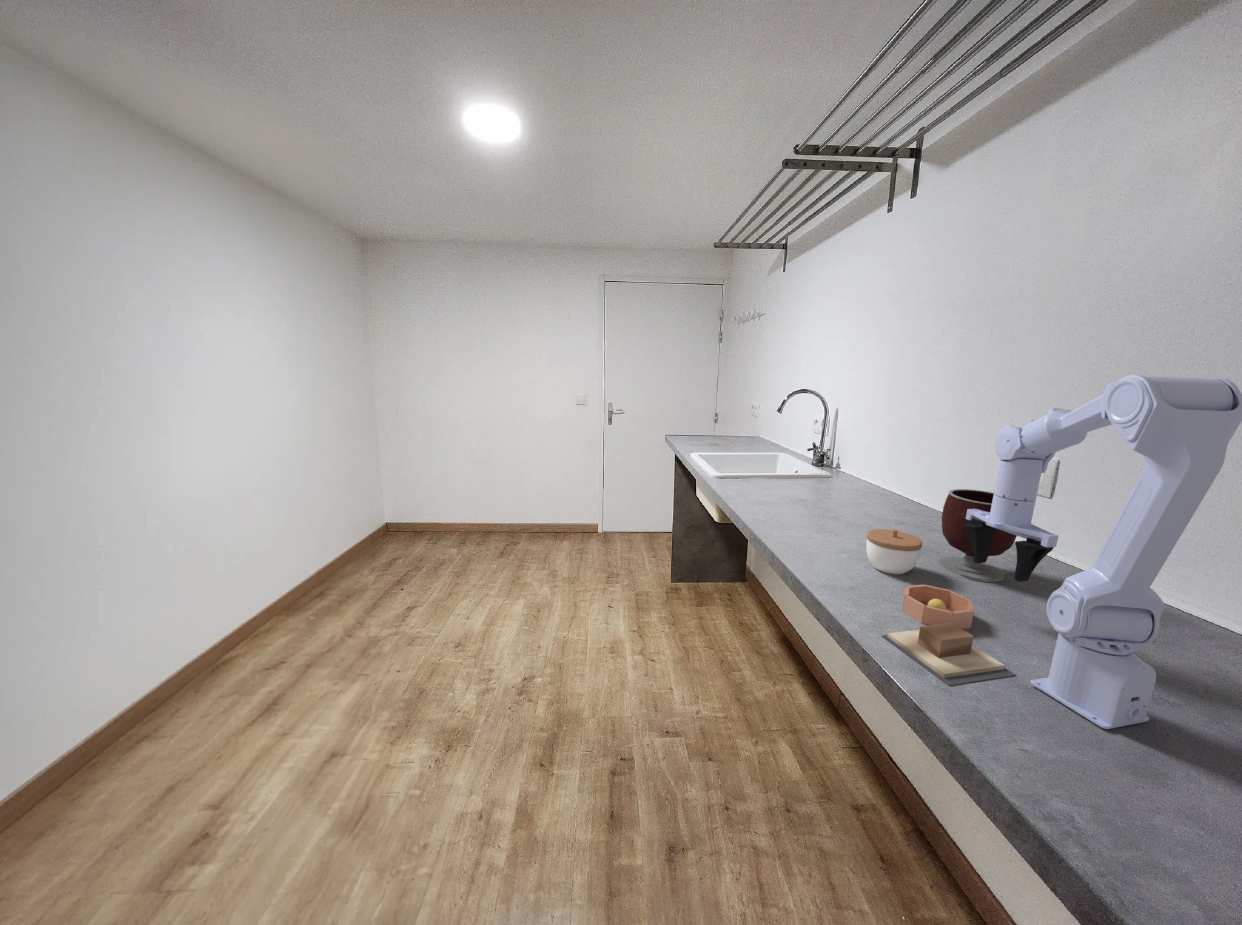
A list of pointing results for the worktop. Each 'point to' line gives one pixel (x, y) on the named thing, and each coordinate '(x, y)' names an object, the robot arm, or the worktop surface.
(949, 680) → the mat
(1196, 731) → the worktop surface
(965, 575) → the mate gourd
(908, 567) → the lidded jar
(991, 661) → the cover
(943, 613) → the bowl
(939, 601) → the ball
